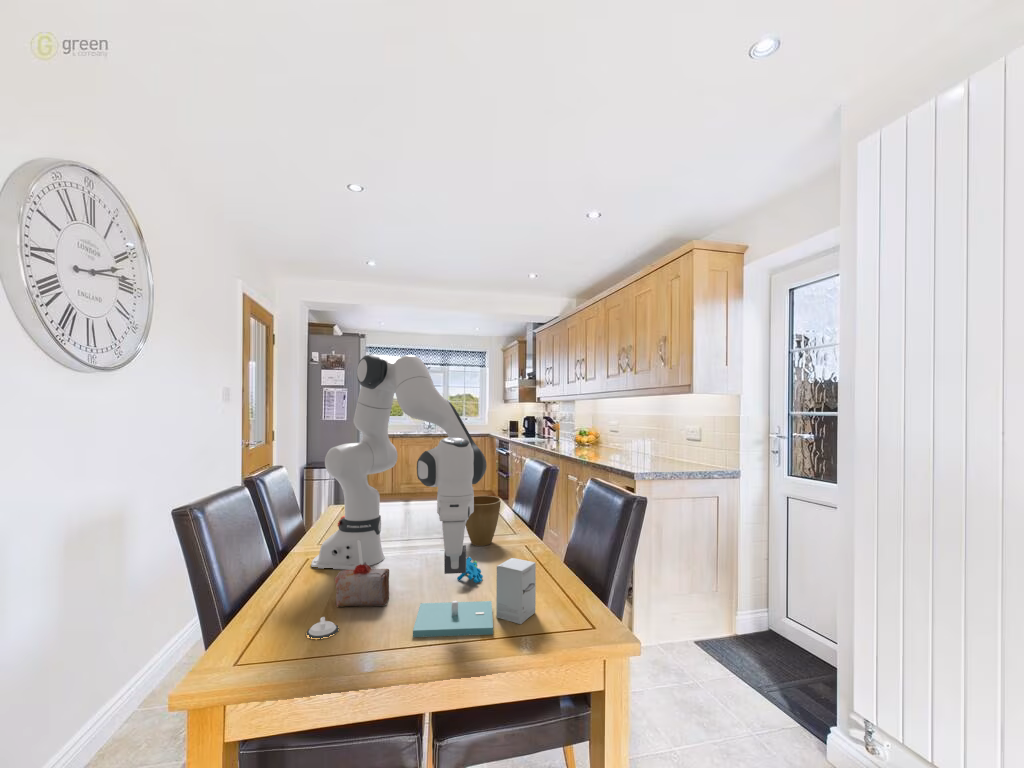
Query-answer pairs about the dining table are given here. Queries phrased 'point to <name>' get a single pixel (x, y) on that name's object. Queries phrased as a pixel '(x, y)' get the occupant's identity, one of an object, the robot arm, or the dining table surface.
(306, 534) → the dining table surface
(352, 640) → the dining table surface
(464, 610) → the control panel
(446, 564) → the grey marked cube
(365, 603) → the food item
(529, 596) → the supplement box
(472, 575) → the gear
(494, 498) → the plant pot
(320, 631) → the stove knob
